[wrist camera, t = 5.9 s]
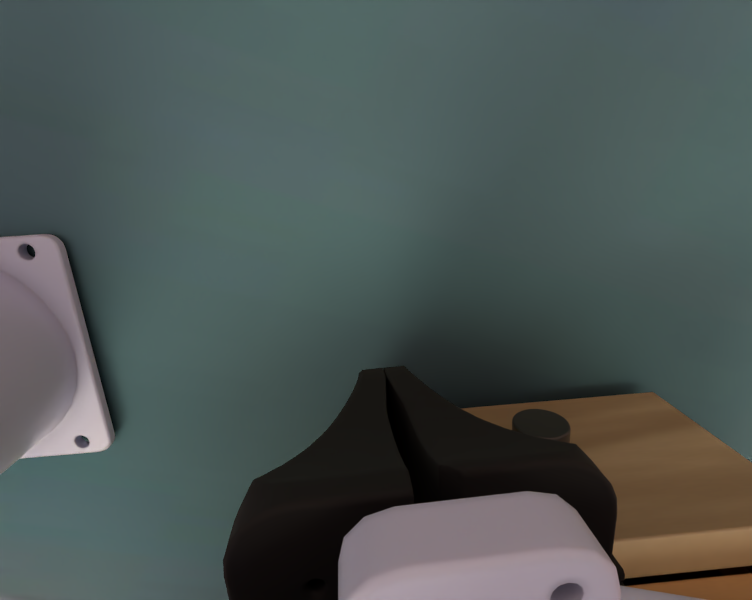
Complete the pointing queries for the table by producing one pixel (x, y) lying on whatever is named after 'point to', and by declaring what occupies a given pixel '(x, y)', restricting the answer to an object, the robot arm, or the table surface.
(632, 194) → the table surface
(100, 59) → the table surface
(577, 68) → the table surface
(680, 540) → the drawer
